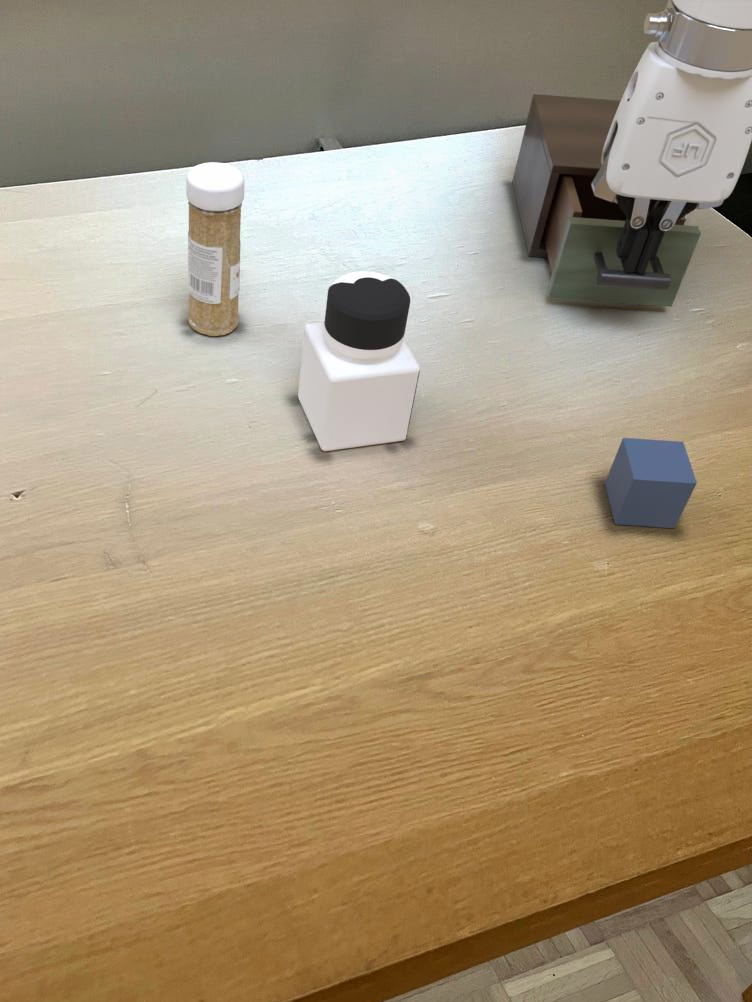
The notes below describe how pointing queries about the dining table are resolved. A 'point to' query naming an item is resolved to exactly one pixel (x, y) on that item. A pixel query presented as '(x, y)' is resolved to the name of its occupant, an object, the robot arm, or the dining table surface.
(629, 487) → the block
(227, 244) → the spice jar
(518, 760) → the dining table surface
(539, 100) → the cabinet
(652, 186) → the robot arm
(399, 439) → the medicine bottle
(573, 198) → the drawer
